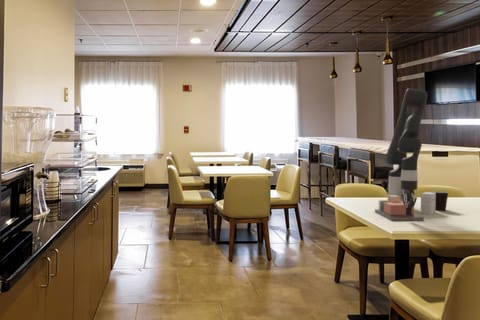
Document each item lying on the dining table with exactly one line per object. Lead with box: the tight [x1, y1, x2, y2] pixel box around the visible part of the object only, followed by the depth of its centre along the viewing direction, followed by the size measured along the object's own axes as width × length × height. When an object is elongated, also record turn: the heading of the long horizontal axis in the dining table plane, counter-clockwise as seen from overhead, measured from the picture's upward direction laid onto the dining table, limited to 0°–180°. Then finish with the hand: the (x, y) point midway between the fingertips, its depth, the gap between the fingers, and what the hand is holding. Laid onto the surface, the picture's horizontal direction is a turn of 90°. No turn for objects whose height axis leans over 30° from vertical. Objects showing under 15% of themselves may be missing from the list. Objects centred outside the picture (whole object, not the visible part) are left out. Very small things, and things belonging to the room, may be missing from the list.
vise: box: [374, 199, 425, 222], centre depth 225 cm, size 24×16×6 cm
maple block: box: [387, 194, 400, 202], centre depth 231 cm, size 5×4×8 cm
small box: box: [420, 191, 436, 215], centre depth 235 cm, size 8×6×10 cm
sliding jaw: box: [384, 202, 415, 215], centre depth 224 cm, size 9×12×5 cm
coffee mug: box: [431, 190, 449, 212], centre depth 243 cm, size 12×9×10 cm
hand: (408, 215), depth 212 cm, fingers closed
